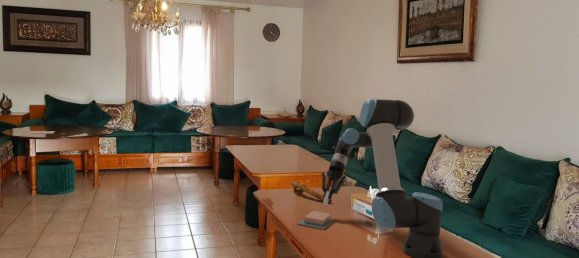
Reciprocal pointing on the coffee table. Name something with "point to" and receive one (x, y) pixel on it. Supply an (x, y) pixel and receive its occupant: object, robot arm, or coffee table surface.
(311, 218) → the tile
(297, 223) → the pad
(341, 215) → the coffee table surface
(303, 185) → the brown curved bar
